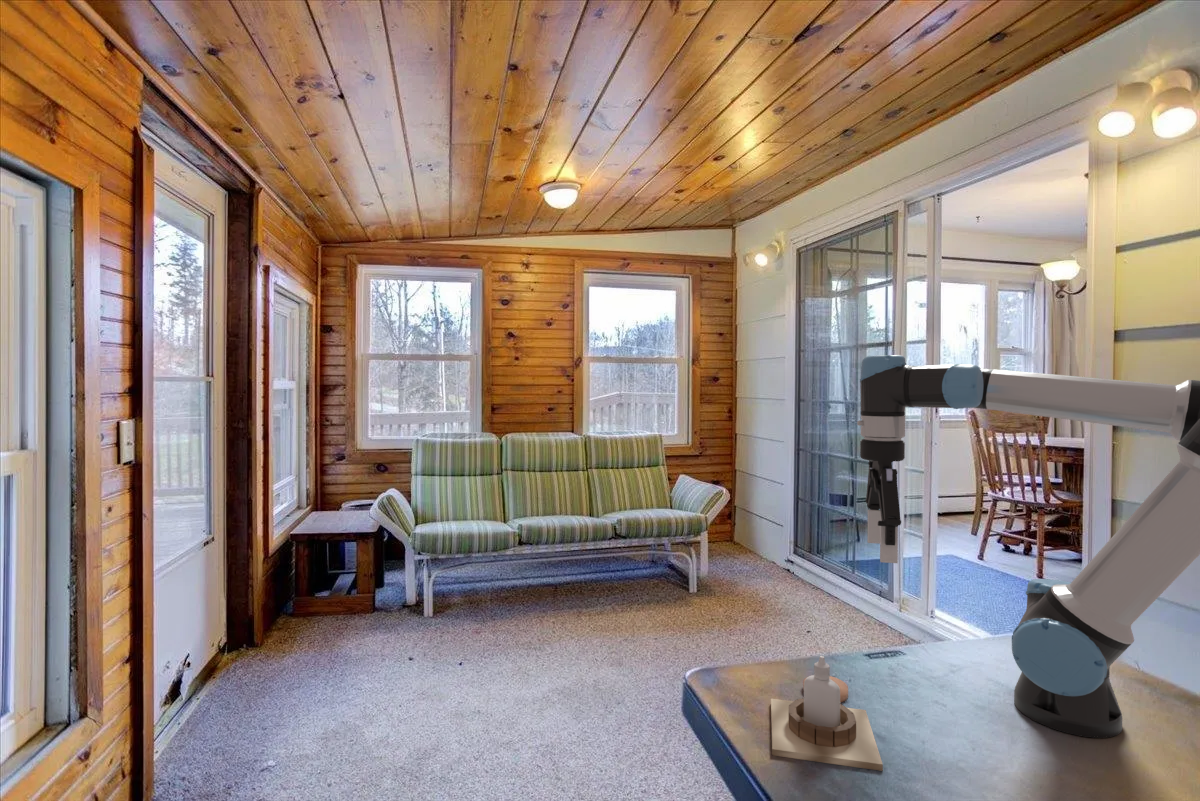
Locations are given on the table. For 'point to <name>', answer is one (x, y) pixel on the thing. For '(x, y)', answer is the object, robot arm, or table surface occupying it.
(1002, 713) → the table surface
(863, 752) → the ring collar
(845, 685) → the peach domed part
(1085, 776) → the table surface
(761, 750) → the table surface
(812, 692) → the eye dropper bottle
